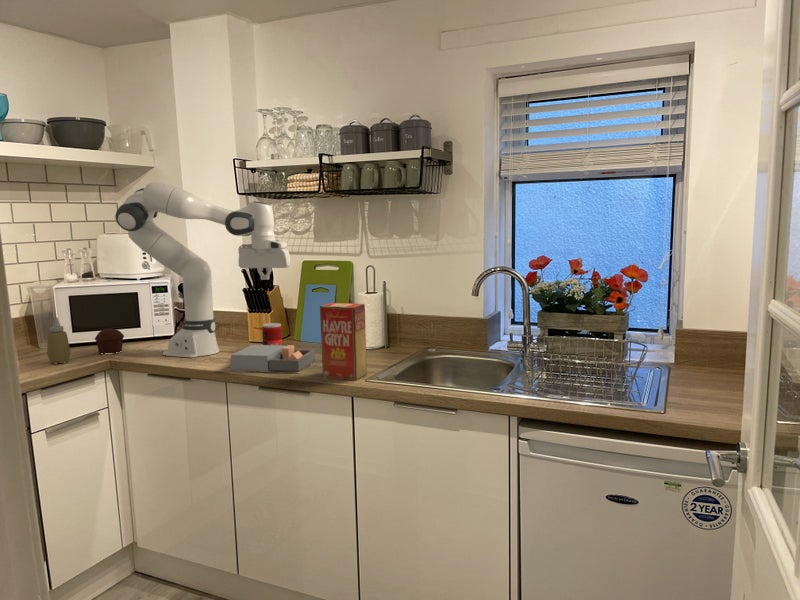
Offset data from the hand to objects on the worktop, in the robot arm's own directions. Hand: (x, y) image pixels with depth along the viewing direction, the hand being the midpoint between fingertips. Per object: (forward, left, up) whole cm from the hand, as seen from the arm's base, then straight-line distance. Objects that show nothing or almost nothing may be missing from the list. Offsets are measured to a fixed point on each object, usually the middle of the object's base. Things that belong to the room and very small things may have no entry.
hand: (265, 279), depth 239 cm
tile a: (+16, -18, -26) cm, 35 cm away
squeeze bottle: (-80, -17, -31) cm, 88 cm away
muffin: (-72, +3, -31) cm, 79 cm away
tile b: (+11, -10, -27) cm, 31 cm away
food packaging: (+38, -24, -31) cm, 55 cm away
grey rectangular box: (+2, -13, -31) cm, 34 cm away
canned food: (-4, +14, -31) cm, 35 cm away
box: (+15, -13, -31) cm, 37 cm away
